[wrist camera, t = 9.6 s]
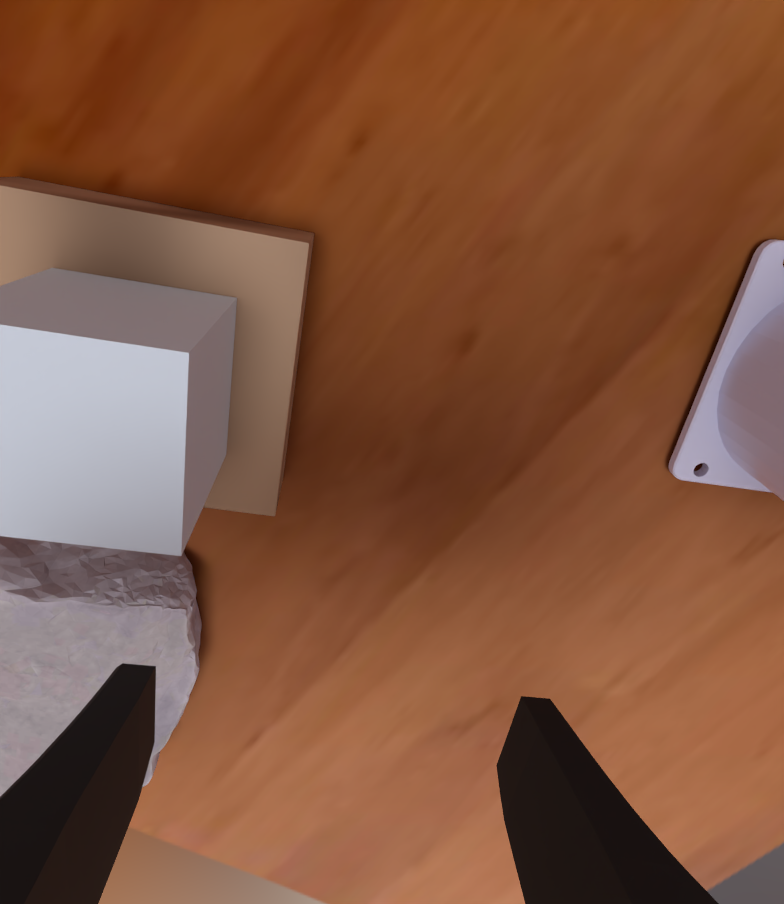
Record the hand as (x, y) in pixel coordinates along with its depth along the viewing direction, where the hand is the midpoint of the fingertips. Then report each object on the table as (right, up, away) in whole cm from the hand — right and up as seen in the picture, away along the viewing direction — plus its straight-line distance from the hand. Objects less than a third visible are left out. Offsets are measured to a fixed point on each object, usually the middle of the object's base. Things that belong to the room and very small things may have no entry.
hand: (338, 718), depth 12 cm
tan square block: (-6, +9, +7) cm, 13 cm away
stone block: (-11, -2, +12) cm, 16 cm away
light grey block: (-6, +8, +4) cm, 10 cm away
